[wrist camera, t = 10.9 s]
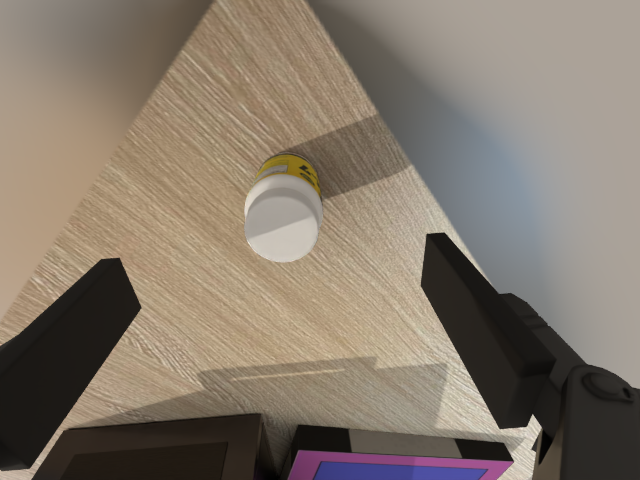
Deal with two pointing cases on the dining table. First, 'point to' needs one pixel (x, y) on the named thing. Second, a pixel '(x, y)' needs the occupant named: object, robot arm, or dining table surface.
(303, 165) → the supplement bottle
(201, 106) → the dining table surface
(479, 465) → the book
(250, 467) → the oven door
